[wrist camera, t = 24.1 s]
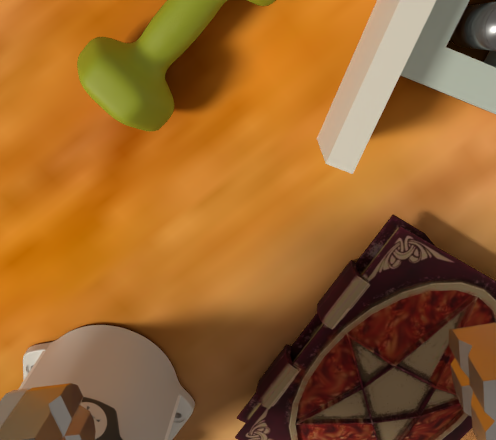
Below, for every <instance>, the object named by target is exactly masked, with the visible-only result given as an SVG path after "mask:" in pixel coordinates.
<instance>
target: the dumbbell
mask: <svg viewBox="0 0 496 440" xmlns="http://www.w3.org/2000/svg"><path fill="white" fill-rule="evenodd" d="M226 1H228V0H167V1H166V2H165V4H164V5H163V6H162V7H161V8H160V10H159V11H158V12H157V14H156V15H155V16H154V17H153V19H152V20H151V21H150V23H149V24H148V26H147V27H146V29H145V30H144V32H143V34H142V35H141V37H140V38H139V39H138V40H137V41H135V42H133V43H123V42H120V41H117V40H114V39H112V38H107V37H97V38H95V39H93V40H91V41H90V42H89V43H88V44H87V45H86V47H85V48H84V49H83V51H82V52H81V53H80V55H79V57H78V62H77V67H78V74H79V79H80V82H81V84H82V86H83V88H84V89H85V91H86V92H87V93H88V94H89V95H90V97H91V98H92V99H93V100H94V101H95V102H96V103H97V104H98V105H100V106H101V107H102V108H103V109H104V110H105V111H106V112H107V113H108V114H109V115H111V116H112V117H113V118H114V119H116V120H117V121H119V122H121V123H123V124H125V125H127V126H130V127H134V128H137V129H141V130H145V131H156V130H159V129H160V128H161V127H162V126H163V125H164V124H165V123H166V122H167V121H168V119H169V118H170V117H171V115H172V113H173V110H174V100H173V96H172V94H171V91H170V89H169V86H168V84H167V82H166V81H165V74H166V71H167V69H168V68H169V66H170V65H171V64H172V63H173V62H174V61H175V60H176V59H177V58H179V57H180V56H181V55H182V54H183V53H184V52H185V51H186V49H187V48H188V47H189V46H190V45H191V44H192V43H193V42H194V41H195V40H196V39H197V38H198V36H199V35H200V34H201V33H202V32H203V30H204V29H205V28H206V27H207V25H208V24H209V23H210V22H211V20H212V19H213V18H214V16H215V15H216V13H217V12H218V10H219V9H220V8H221V6H222V5H223V4H224V3H225V2H226ZM247 1H249V2H252V3H254V4H256V5H260V6H268V5H270V4H272V3H273V2H275V1H276V0H247Z"/></svg>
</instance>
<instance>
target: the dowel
mask: <svg viewBox="0 0 496 440" xmlns="http://www.w3.org/2000/svg"><path fill="white" fill-rule="evenodd" d="M450 40H451V41H452V42H453V43H454V44H455V45H456V46H458V47H462V48H472V49H483V50H493V51H496V2H490V3H482V4H475V5H468V6H466V8H465V10H464V12H463V14H462V16H461V18H460V20H459V22H458V24H457V26H456V28H455V30H454V32H453V34H452V36H451V38H450Z"/></svg>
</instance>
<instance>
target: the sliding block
mask: <svg viewBox="0 0 496 440" xmlns="http://www.w3.org/2000/svg"><path fill="white" fill-rule="evenodd" d="M468 2H469V0H436V2H435V4H434V6H433V8H432V10H431V13H430V15H429V17H428V19H427V21H426V23H425V25H424V27H423V29H422V31H421V33H420V35H419V37H418V40H417V42H416V44H415V46H414V48H413V50H412V52H411V54H410V56H409V58H408V60H407V62H406V64H405V66H404V69H403V71H402V73H401V75H400V76H403V77H405V78H408V79H410V80H412V81H415V82H417V83H420V84H422V85H425V86H427V87H430V88H432V89H435V90H437V91H440V92H442V93H445V94H447V95H449V96H452V97H454V98H457V99H459V100H462V101H464V102H467V103H469V104H472V105H474V106H477V107H479V108H481V109H484V110H486V111H489V112H491V113H494V114H496V51H493V50H490V51H489V53H488V55H487V57H486V59H485V60H484V62H481V61H479V60H476V59H474V58H471V57H469V56H466V55H464V54H462V53H459V52H457V51H454V50H452V49H450V48H447V47H446V46H447V44H448V42H449V40H450V38H451V36H452V34H453V32H454V30H455V28H456V26H457V24H458V22H459V20H460V18H461V16H462V14H463V12H464V10H465V8H466V6H467V4H468Z"/></svg>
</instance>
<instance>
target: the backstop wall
mask: <svg viewBox="0 0 496 440" xmlns="http://www.w3.org/2000/svg"><path fill="white" fill-rule="evenodd" d="M435 2H436V0H377V2H376V4H375V6H374V9H373V11H372V13H371V16H370V18H369V20H368V22H367V25H366V27H365V29H364V32H363V34H362V36H361V39H360V41H359V43H358V45H357V48H356V50H355V52H354V55H353V57H352V59H351V61H350V64H349V66H348V68H347V71H346V73H345V75H344V77H343V80H342V82H341V84H340V87H339V89H338V91H337V94H336V96H335V98H334V100H333V103H332V105H331V107H330V110H329V112H328V114H327V116H326V119H325V121H324V123H323V126H322V128H321V130H320V132H319V135H318V137H317V140H318V143H319V146H320V149H321V152H322V154H323V157H324V160H325V163H326V164H328V165H331V166H333V167H336V168H338V169H341V170H344V171H346V172H349V173H351V174H353V172H354V170H355V168H356V166H357V164H358V162H359V160H360V158H361V156H362V154H363V152H364V149H365V147H366V145H367V143H368V141H369V139H370V137H371V135H372V133H373V131H374V129H375V127H376V125H377V122H378V120H379V118H380V116H381V114H382V112H383V110H384V108H385V106H386V104H387V102H388V100H389V98H390V96H391V93H392V91H393V89H394V87H395V85H396V83H397V81H398V79H399V77H400V75H401V73H402V71H403V69H404V66H405V64H406V62H407V60H408V58H409V56H410V54H411V52H412V50H413V48H414V46H415V44H416V42H417V40H418V37H419V35H420V33H421V31H422V29H423V27H424V25H425V23H426V21H427V19H428V17H429V15H430V13H431V10H432V8H433V6H434V4H435Z"/></svg>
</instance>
